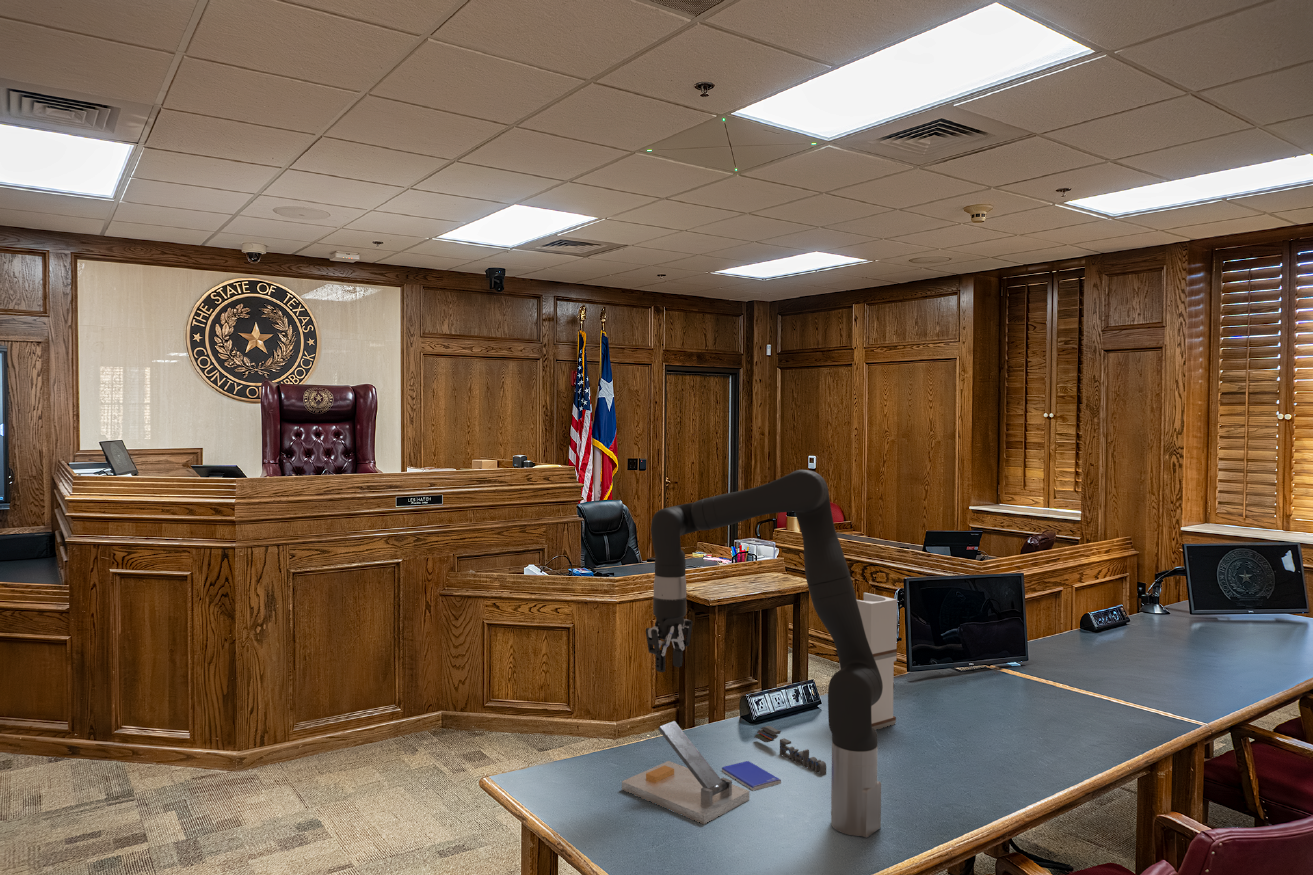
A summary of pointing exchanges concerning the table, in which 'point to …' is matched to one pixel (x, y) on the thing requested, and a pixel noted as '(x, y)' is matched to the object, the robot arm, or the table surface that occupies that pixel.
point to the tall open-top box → (881, 650)
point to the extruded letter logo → (792, 750)
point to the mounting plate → (684, 792)
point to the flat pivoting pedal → (692, 758)
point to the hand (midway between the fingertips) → (669, 668)
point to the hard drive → (751, 775)
